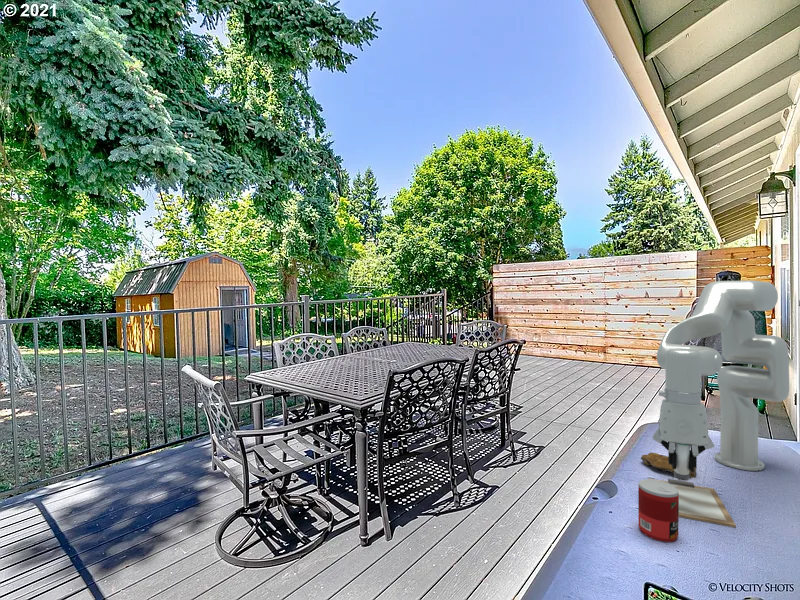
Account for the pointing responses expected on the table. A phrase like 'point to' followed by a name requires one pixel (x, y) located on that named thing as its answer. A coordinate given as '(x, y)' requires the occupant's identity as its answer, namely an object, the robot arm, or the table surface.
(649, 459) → the decorative rock
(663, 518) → the canned food
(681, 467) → the marker
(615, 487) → the table surface
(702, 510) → the clipboard
